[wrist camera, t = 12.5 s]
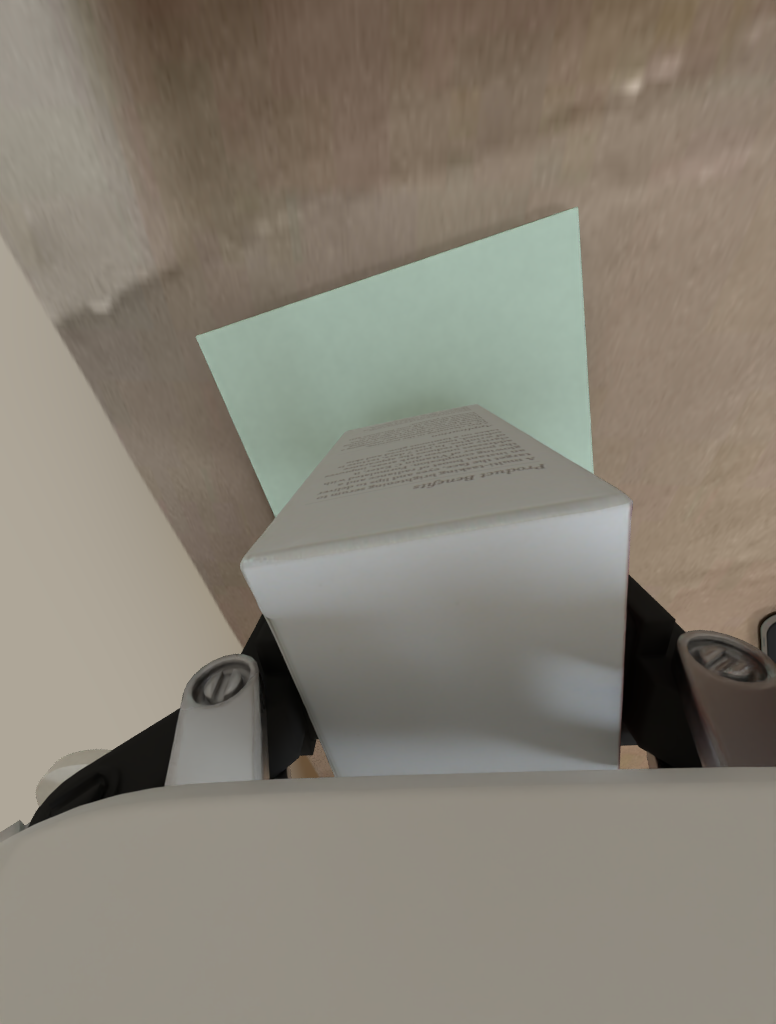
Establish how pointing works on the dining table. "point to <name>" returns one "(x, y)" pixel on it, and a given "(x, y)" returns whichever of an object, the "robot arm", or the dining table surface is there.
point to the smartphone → (769, 637)
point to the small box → (451, 600)
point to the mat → (415, 353)
